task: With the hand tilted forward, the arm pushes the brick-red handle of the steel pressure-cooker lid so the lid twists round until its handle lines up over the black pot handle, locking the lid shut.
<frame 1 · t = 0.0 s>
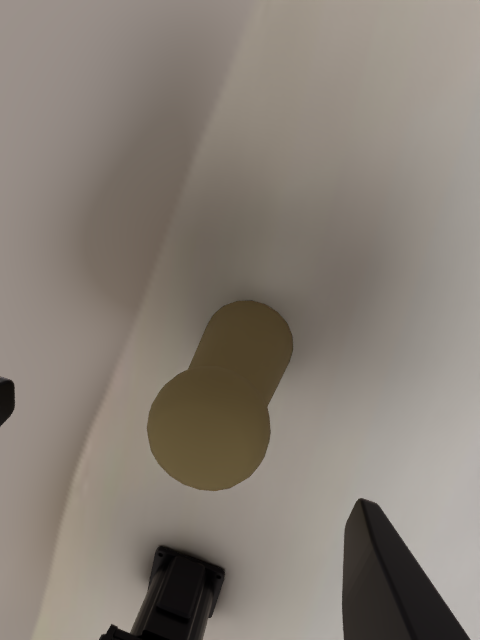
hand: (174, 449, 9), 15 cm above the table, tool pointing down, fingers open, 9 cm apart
cork: (248, 342, 24), on the table
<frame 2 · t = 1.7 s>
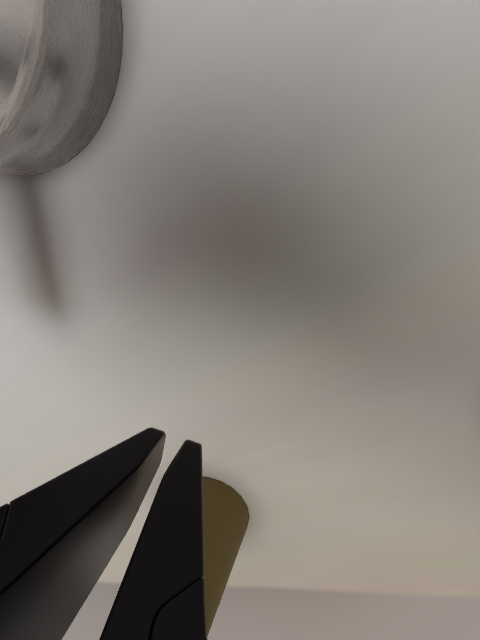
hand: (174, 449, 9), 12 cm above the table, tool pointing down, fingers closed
cork: (209, 508, 26), on the table
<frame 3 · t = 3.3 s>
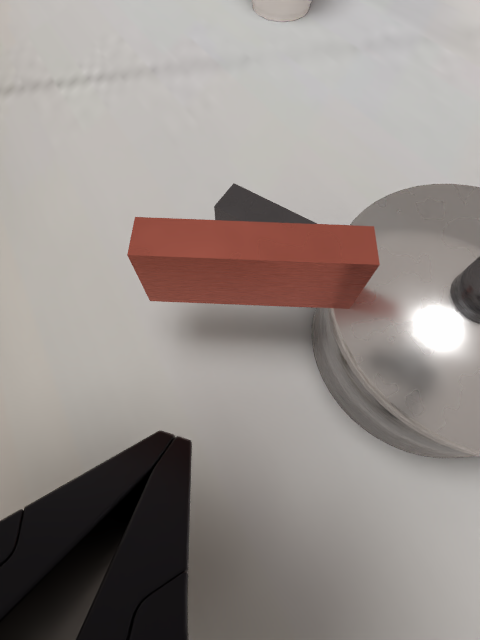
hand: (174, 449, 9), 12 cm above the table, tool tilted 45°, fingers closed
foam cup: (280, 7, 39), on the table
lid: (405, 279, 16), point 8 cm above the table, hinge at 30.0°
pot: (420, 342, 23), on the table
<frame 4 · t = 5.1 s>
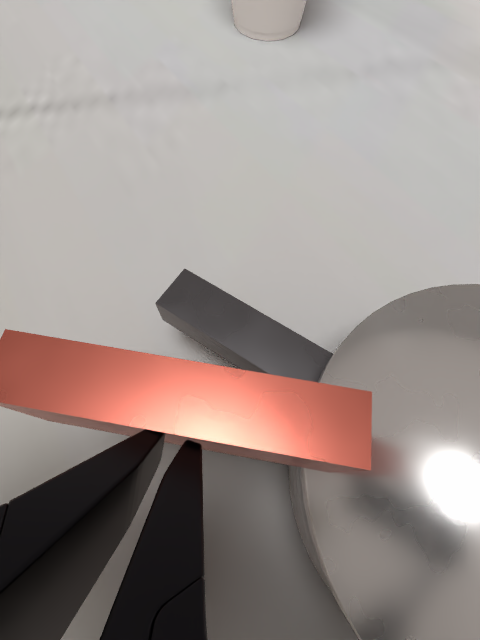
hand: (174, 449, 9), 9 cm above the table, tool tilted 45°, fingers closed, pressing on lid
foam cup: (266, 24, 33), on the table
lid: (415, 452, 10), point 8 cm above the table, hinge at 23.0°, touching gripper
pot: (432, 479, 17), on the table
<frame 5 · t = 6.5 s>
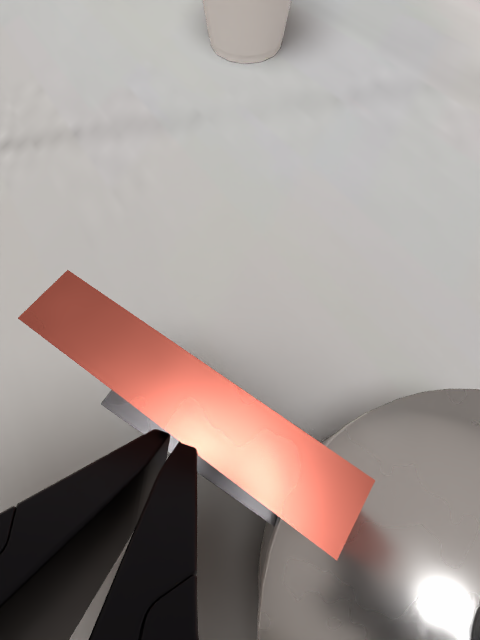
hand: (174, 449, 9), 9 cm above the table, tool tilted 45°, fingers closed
foam cup: (245, 44, 31), on the table
lid: (401, 560, 9), point 8 cm above the table, hinge at -2.4°, touching gripper
pot: (418, 587, 15), on the table
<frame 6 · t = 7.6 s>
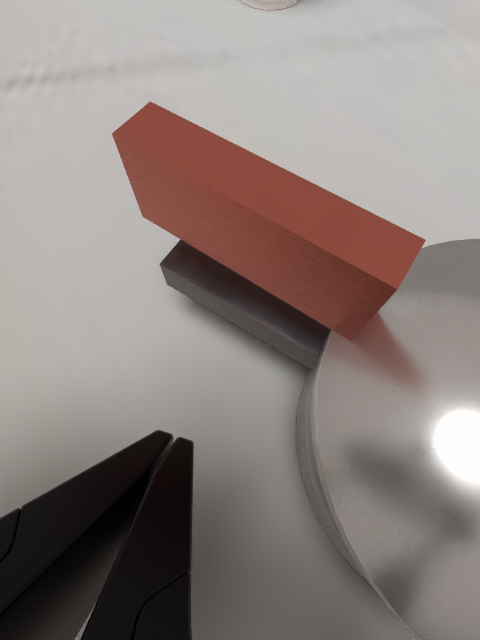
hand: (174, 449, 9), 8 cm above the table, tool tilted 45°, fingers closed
lid: (441, 340, 11), point 8 cm above the table, hinge at -2.0°
pot: (441, 442, 17), on the table
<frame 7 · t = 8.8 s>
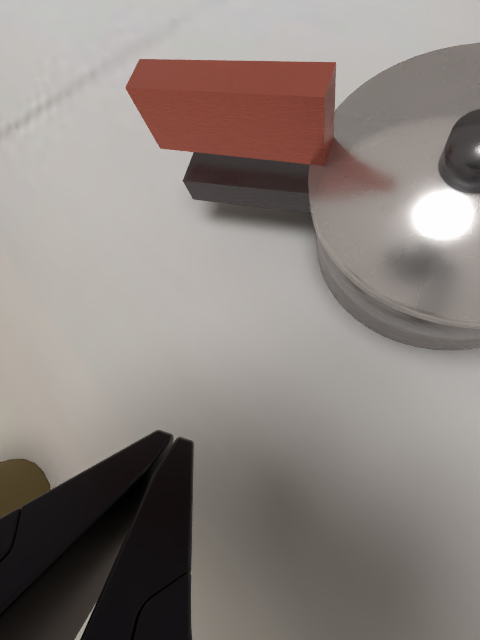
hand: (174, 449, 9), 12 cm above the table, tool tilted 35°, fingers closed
cork: (12, 509, 22), on the table
lid: (377, 131, 15), point 8 cm above the table, hinge at -2.0°
pot: (434, 237, 21), on the table
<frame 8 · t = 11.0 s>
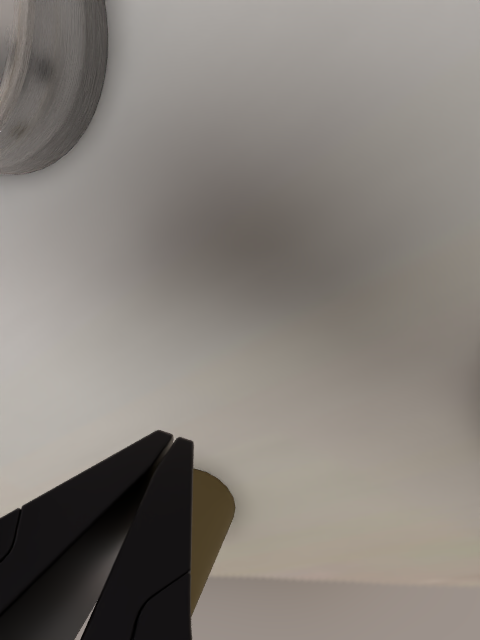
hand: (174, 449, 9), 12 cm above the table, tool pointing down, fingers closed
cork: (196, 499, 26), on the table
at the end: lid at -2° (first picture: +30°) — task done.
